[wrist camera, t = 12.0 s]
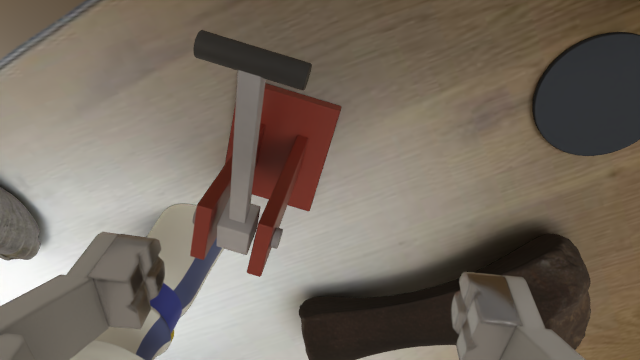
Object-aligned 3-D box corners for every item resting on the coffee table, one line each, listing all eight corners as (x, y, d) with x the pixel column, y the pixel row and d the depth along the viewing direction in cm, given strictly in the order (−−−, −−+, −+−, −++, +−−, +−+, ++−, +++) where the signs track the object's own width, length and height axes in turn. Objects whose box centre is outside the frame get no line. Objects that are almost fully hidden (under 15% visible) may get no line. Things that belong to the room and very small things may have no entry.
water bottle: (240, 261, 49) (125, 520, 28) (171, 264, 51) (13, 509, 30) (220, 199, 45) (68, 445, 24) (146, 205, 47) (-58, 439, 26)
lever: (208, 17, 20) (187, 47, 18) (316, 50, 20) (303, 83, 18) (209, 213, 32) (196, 240, 30) (275, 233, 32) (265, 261, 30)
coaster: (527, 52, 34) (529, 54, 34) (676, 15, 31) (681, 16, 31) (536, 163, 39) (538, 166, 38) (668, 139, 36) (672, 142, 35)
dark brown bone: (569, 222, 43) (321, 267, 55) (583, 244, 34) (279, 294, 46) (600, 330, 43) (343, 352, 55) (622, 383, 33) (306, 397, 45)
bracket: (243, 76, 38) (169, 150, 26) (341, 106, 38) (317, 195, 26) (225, 179, 44) (158, 281, 31) (311, 205, 44) (278, 317, 31)
